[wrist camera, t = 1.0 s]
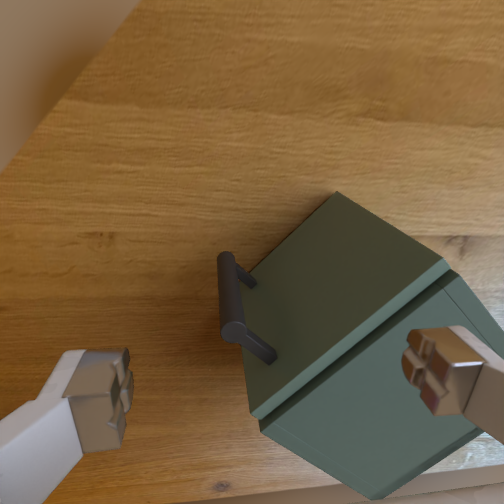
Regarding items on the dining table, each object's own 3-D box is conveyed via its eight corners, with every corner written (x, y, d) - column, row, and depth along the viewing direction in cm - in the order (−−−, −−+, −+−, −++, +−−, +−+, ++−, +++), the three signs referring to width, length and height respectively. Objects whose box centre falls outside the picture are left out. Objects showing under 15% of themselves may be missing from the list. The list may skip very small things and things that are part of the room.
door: (201, 261, 35) (194, 379, 20) (307, 156, 32) (397, 198, 17) (239, 292, 37) (260, 420, 22) (342, 197, 34) (451, 267, 19)
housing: (238, 294, 38) (259, 432, 22) (342, 198, 35) (460, 274, 18) (312, 354, 43) (376, 503, 27) (409, 275, 40) (549, 389, 23)
